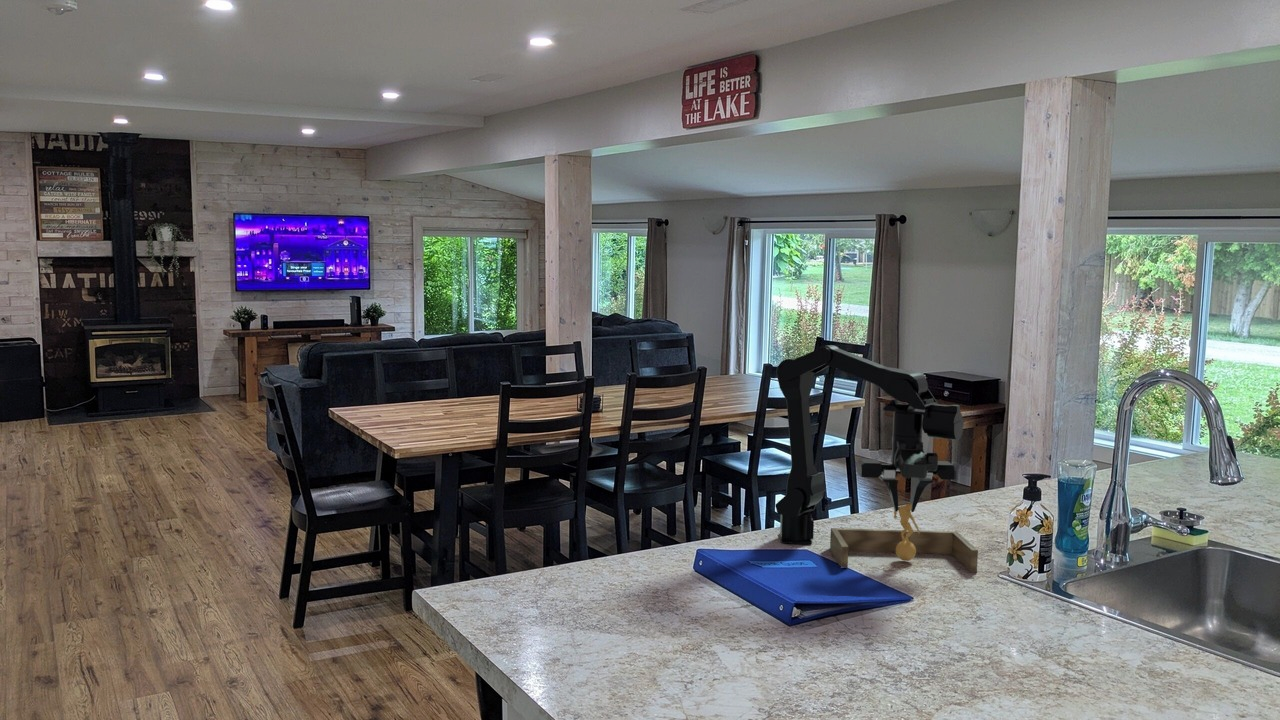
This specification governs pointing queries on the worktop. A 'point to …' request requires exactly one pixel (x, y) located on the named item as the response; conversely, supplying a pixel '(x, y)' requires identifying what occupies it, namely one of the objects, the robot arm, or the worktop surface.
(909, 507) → the figurine
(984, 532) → the worktop surface
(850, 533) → the three-sided wooden wall
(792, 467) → the robot arm
